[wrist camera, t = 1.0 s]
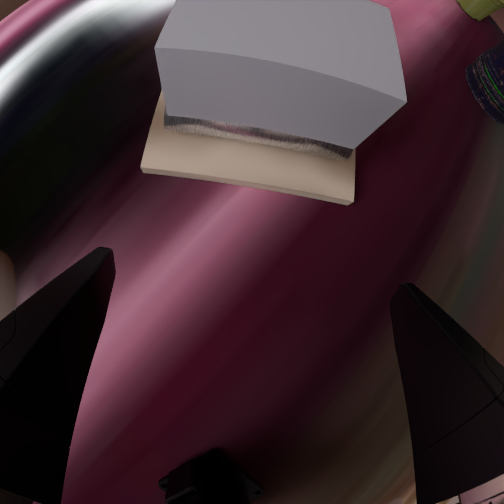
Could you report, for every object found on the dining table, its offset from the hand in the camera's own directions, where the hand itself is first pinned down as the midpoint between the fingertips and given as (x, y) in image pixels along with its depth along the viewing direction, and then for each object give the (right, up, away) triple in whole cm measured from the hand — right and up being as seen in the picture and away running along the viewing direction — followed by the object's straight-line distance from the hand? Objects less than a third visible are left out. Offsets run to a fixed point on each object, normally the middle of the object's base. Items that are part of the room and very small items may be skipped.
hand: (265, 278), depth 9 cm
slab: (+1, +12, +10) cm, 16 cm away
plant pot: (+40, +46, +24) cm, 65 cm away
